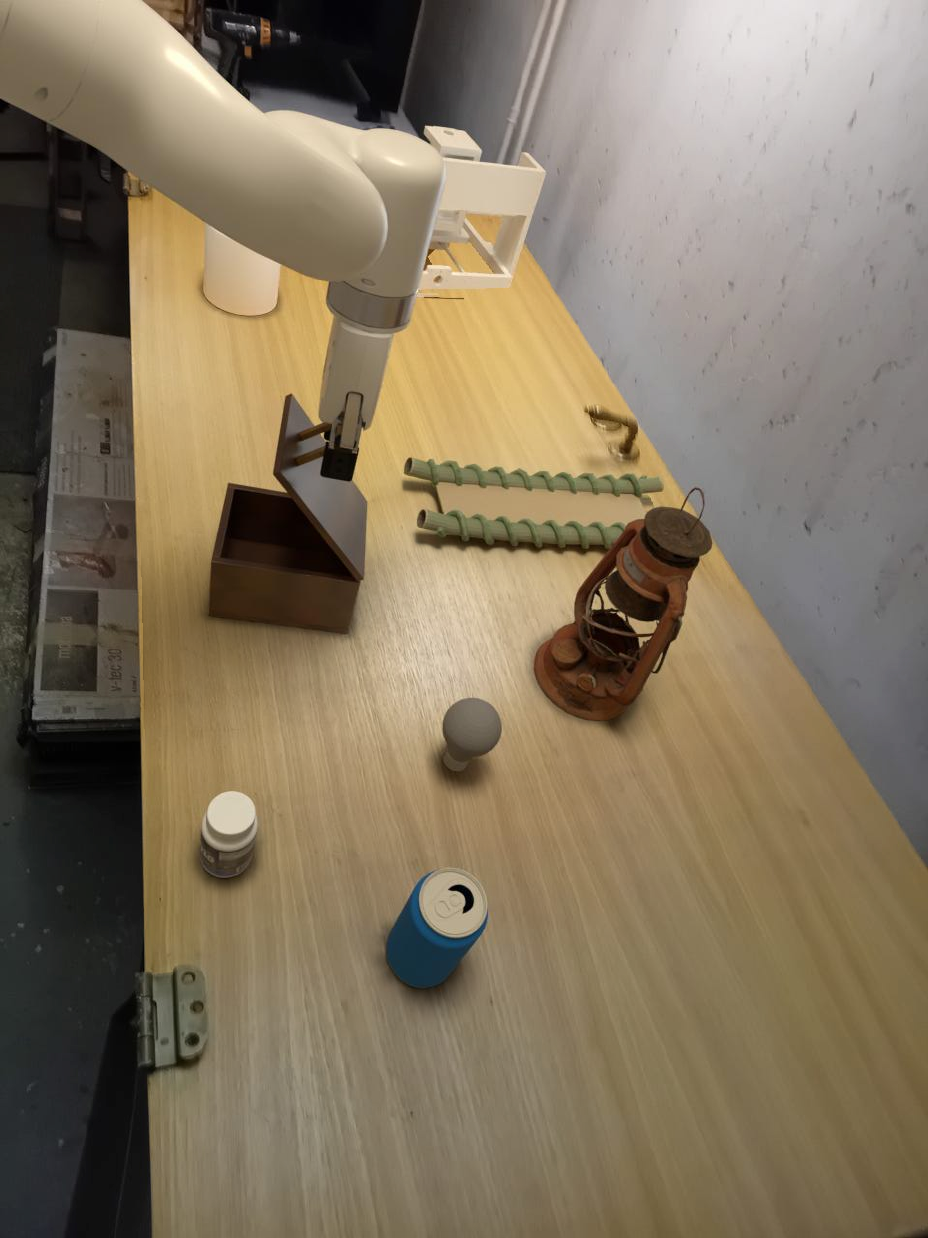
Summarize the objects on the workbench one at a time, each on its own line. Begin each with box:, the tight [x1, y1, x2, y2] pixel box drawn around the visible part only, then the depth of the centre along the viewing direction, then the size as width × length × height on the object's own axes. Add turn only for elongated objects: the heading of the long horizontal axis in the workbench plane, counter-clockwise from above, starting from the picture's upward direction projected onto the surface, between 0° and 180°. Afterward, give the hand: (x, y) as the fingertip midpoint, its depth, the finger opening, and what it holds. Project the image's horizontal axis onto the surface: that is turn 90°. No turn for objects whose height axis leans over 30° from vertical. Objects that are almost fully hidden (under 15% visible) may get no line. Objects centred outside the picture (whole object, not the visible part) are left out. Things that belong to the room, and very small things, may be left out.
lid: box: [272, 392, 369, 582], centre depth 86 cm, size 16×13×7 cm
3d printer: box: [416, 125, 547, 299], centre depth 151 cm, size 35×32×25 cm
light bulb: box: [441, 697, 503, 772], centre depth 84 cm, size 6×6×10 cm
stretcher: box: [403, 456, 665, 550], centre depth 116 cm, size 41×14×5 cm, turn 102°
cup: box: [202, 222, 282, 317], centre depth 130 cm, size 12×12×12 cm
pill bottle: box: [199, 790, 259, 879], centre depth 72 cm, size 5×5×8 cm
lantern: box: [533, 486, 713, 722], centre depth 89 cm, size 17×13×30 cm
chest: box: [207, 482, 361, 635], centre depth 94 cm, size 16×13×9 cm
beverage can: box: [385, 867, 489, 989], centre depth 69 cm, size 6×6×12 cm
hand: (337, 457), depth 83 cm, fingers closed on lid, 5 cm apart
